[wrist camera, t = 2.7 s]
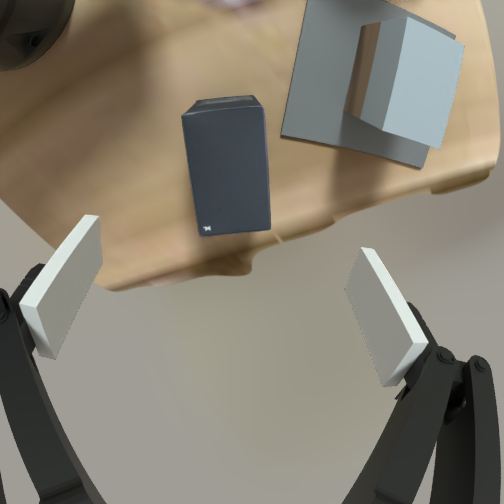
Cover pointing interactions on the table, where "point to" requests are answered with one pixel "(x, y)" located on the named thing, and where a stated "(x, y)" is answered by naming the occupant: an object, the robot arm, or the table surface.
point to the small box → (228, 165)
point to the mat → (341, 80)
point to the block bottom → (362, 69)
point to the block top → (412, 81)
